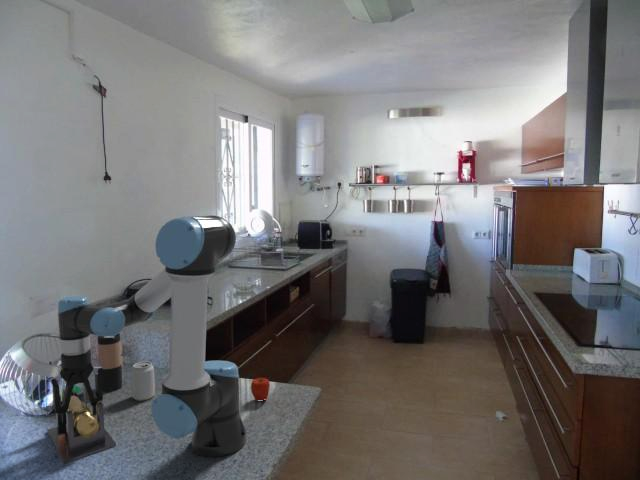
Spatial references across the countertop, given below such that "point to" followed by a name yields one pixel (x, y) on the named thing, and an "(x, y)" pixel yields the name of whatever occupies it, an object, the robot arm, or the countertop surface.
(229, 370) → the robot arm
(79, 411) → the tube
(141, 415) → the countertop surface
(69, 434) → the dark grey pronged rack
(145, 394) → the can
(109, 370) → the travel mug
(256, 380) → the apple
